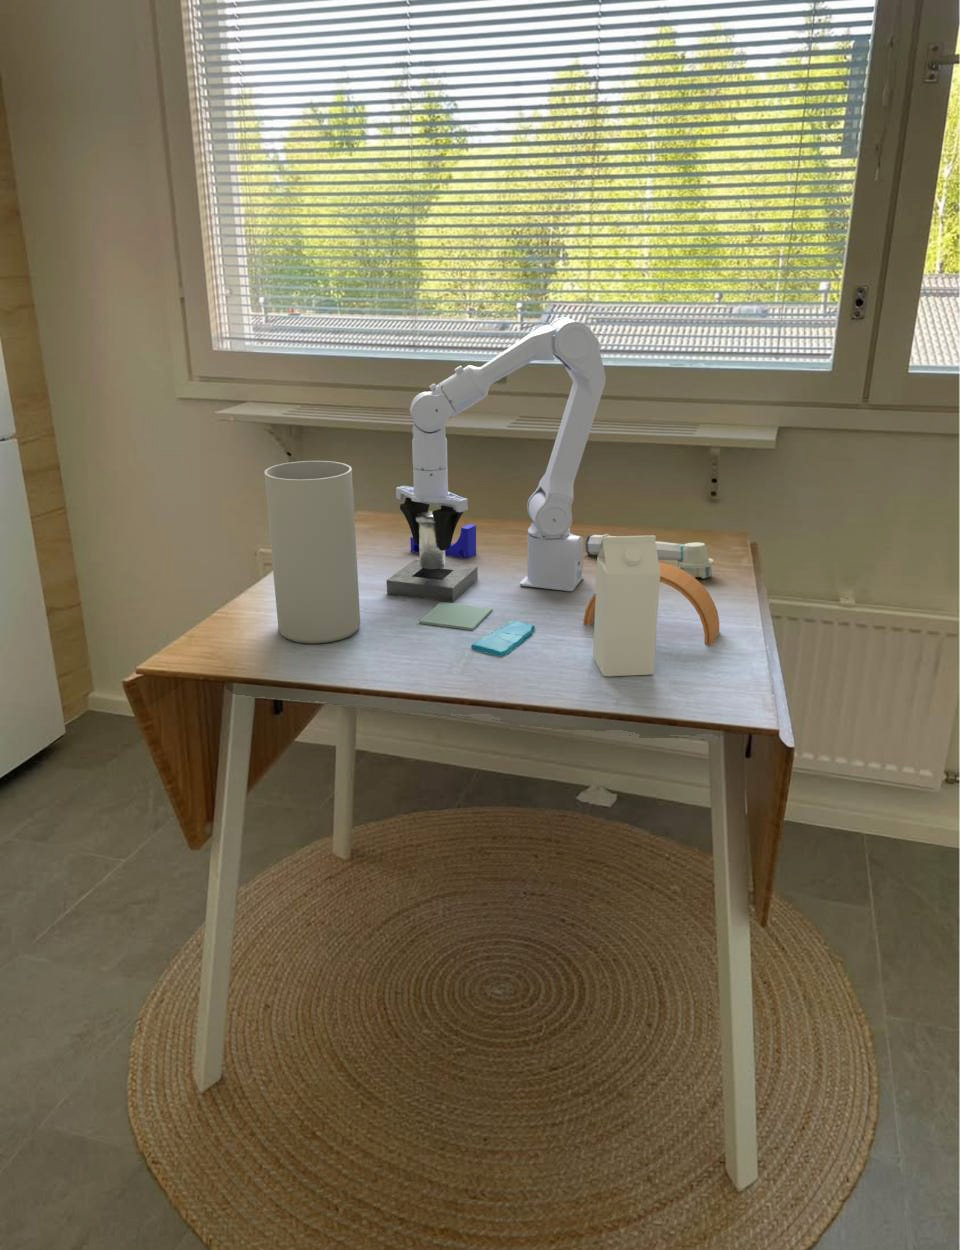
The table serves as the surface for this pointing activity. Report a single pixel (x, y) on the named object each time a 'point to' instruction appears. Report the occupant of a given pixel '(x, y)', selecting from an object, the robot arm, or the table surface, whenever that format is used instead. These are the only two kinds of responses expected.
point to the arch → (690, 590)
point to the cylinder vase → (313, 550)
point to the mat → (456, 616)
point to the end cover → (429, 542)
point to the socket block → (432, 581)
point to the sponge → (504, 638)
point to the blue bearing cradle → (458, 543)
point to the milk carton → (626, 605)
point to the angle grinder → (669, 554)
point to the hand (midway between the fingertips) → (432, 545)
